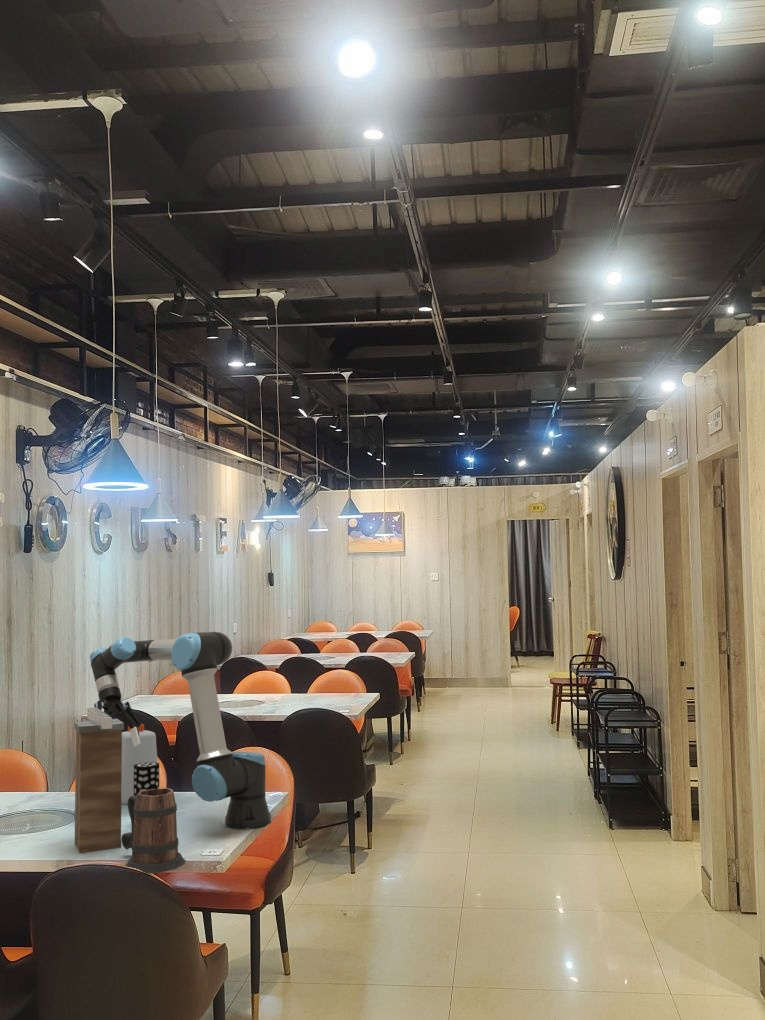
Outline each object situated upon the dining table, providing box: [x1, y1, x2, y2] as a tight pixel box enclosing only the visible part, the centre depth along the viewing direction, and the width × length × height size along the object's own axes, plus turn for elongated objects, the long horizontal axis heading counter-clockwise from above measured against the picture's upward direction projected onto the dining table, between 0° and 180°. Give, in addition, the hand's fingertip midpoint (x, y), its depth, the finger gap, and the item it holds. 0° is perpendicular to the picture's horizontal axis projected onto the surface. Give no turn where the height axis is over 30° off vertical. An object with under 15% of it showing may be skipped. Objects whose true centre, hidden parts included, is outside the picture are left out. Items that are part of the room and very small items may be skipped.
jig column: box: [73, 718, 125, 854], centre depth 264 cm, size 13×13×37 cm
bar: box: [86, 707, 113, 729], centre depth 266 cm, size 32×3×3 cm, turn 26°
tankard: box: [121, 787, 186, 875], centre depth 244 cm, size 24×17×20 cm
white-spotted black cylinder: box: [134, 762, 160, 796], centre depth 284 cm, size 8×8×20 cm
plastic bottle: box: [121, 723, 158, 806], centre depth 324 cm, size 15×15×28 cm
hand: (122, 745), depth 295 cm, fingers open, 13 cm apart
